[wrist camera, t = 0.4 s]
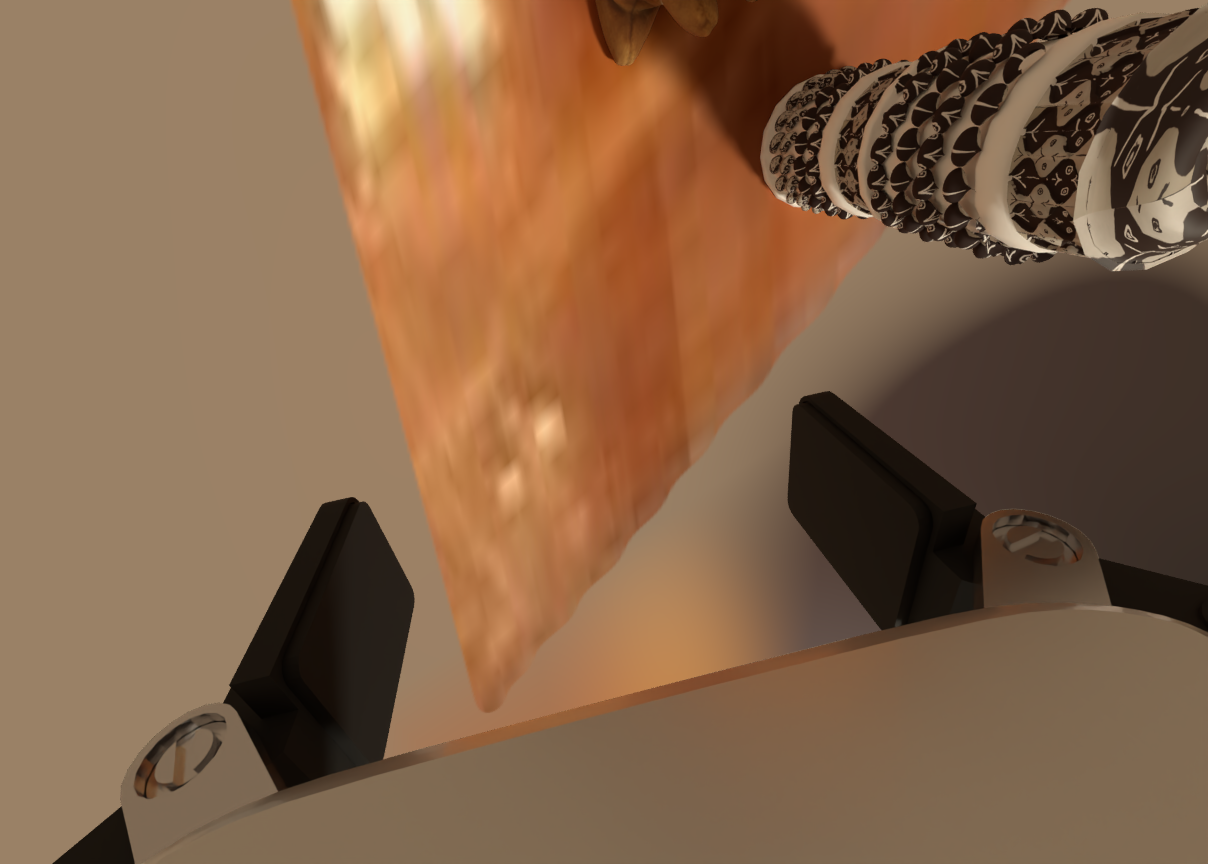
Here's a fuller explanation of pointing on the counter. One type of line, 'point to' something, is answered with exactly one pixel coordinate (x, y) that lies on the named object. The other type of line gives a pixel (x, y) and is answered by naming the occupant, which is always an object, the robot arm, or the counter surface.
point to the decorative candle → (1015, 140)
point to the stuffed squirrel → (650, 22)
